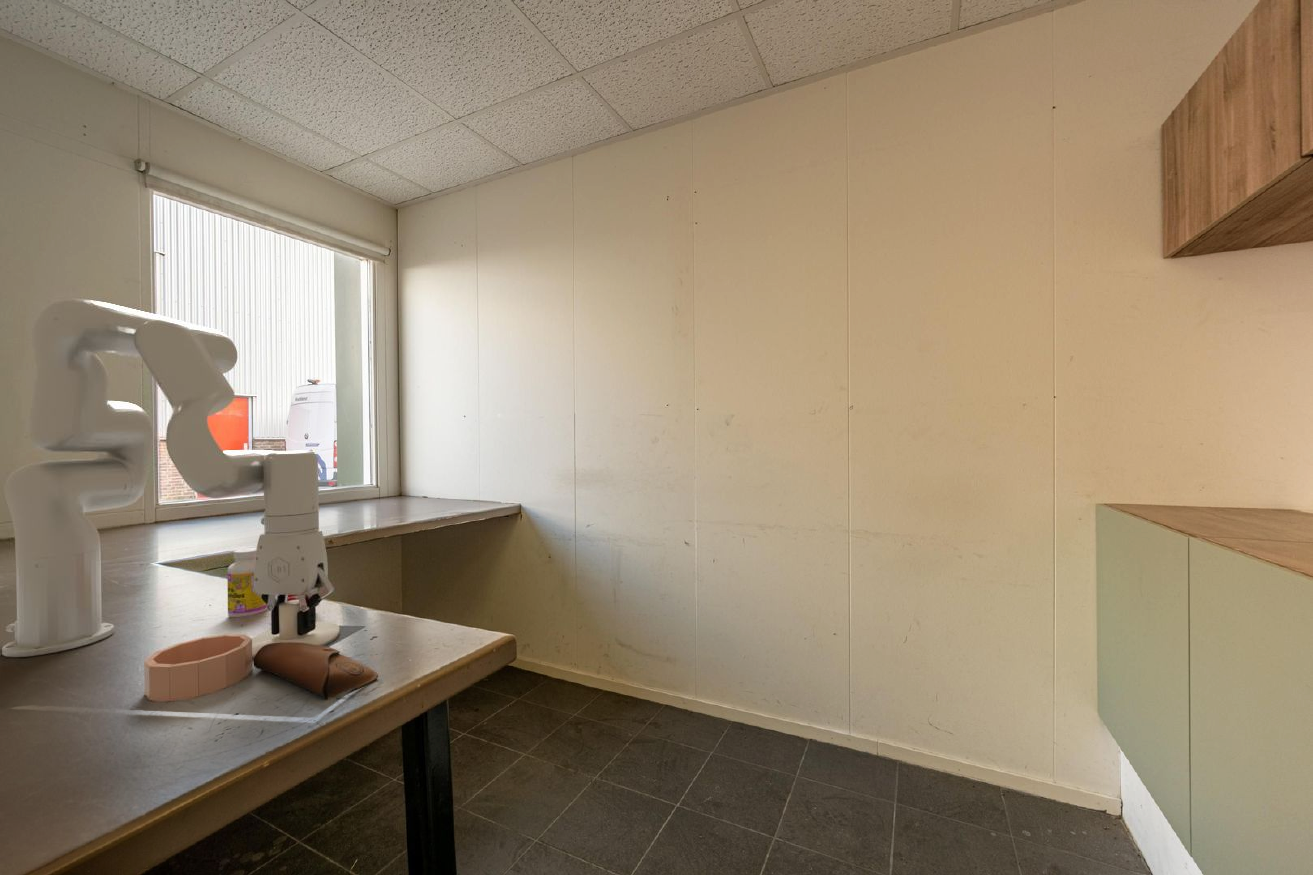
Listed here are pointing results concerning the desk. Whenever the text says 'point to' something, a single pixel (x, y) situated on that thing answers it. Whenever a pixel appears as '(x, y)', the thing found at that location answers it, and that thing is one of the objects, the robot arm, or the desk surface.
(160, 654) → the bowl
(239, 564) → the supplement bottle
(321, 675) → the sunglasses case
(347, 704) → the desk surface
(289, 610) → the lid
